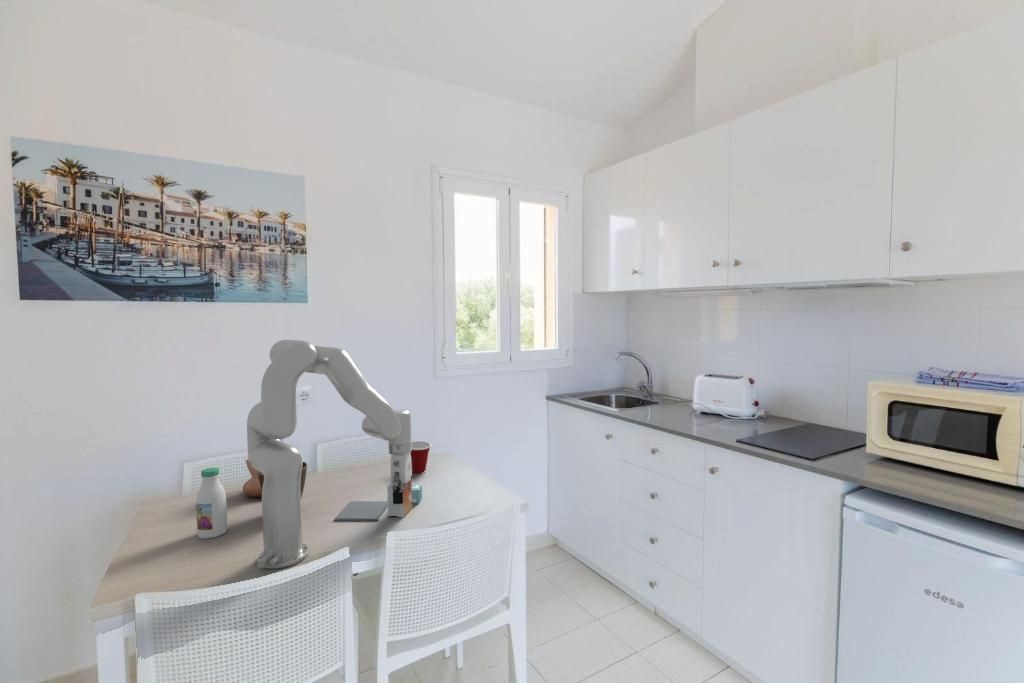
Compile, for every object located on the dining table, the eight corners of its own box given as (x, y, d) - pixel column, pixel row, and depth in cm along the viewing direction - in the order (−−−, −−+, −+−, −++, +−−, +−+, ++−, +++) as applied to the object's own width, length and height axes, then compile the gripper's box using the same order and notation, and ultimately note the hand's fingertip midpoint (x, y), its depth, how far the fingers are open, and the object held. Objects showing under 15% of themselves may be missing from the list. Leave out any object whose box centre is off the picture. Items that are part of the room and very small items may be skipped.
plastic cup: (414, 477, 192) (413, 449, 192) (401, 471, 200) (400, 443, 200) (436, 471, 200) (436, 444, 199) (423, 465, 207) (422, 439, 207)
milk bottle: (222, 525, 149) (219, 463, 148) (231, 532, 144) (229, 468, 143) (193, 534, 143) (191, 470, 142) (202, 542, 138) (200, 475, 137)
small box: (403, 518, 154) (402, 486, 153) (387, 517, 155) (386, 485, 154) (412, 508, 162) (412, 478, 161) (397, 507, 163) (396, 477, 162)
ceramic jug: (292, 494, 175) (291, 456, 174) (248, 504, 166) (247, 464, 165) (279, 482, 189) (278, 447, 188) (238, 491, 179) (237, 454, 179)
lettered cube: (419, 504, 166) (418, 489, 165) (404, 504, 166) (404, 489, 165) (422, 498, 171) (421, 484, 170) (408, 498, 171) (408, 484, 171)
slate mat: (377, 520, 152) (377, 518, 152) (334, 520, 152) (334, 518, 152) (389, 503, 166) (389, 501, 166) (350, 503, 166) (350, 501, 166)
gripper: (404, 455, 148) (406, 508, 149) (416, 440, 166) (418, 488, 167) (381, 455, 148) (383, 509, 149) (395, 440, 166) (397, 488, 167)
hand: (401, 497), depth 158 cm, fingers closed on small box, 8 cm apart
